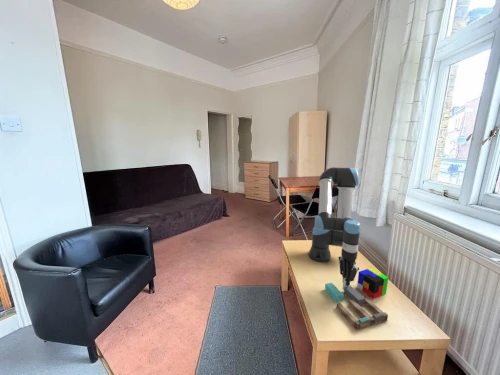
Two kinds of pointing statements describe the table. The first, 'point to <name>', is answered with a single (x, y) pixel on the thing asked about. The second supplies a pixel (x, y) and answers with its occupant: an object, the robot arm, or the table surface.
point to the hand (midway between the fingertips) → (345, 289)
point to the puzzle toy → (372, 282)
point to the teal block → (334, 292)
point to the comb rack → (363, 314)
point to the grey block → (354, 295)
